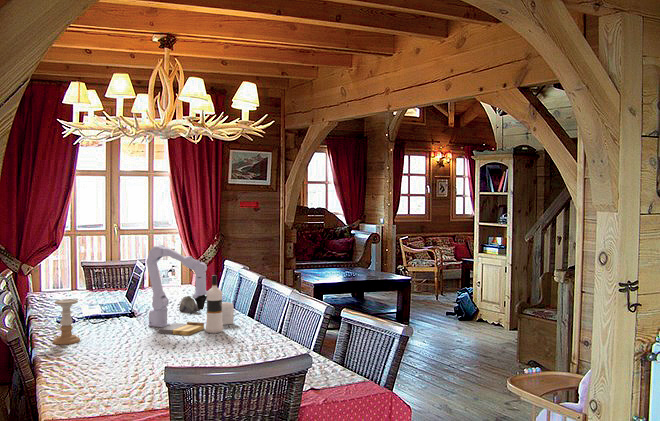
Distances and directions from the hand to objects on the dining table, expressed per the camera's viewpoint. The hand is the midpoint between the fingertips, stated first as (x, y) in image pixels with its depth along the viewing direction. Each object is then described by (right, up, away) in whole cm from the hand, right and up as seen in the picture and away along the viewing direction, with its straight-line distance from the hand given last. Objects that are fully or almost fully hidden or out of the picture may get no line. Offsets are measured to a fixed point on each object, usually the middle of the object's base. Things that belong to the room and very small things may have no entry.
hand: (200, 309), depth 343 cm
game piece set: (+33, -12, -57) cm, 67 cm away
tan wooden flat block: (-4, -10, -12) cm, 16 cm away
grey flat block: (-12, -10, -10) cm, 18 cm away
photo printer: (+12, -10, +6) cm, 17 cm away
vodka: (+10, -10, -12) cm, 18 cm away
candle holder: (-58, -10, -36) cm, 69 cm away
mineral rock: (-15, -8, +40) cm, 44 cm away
